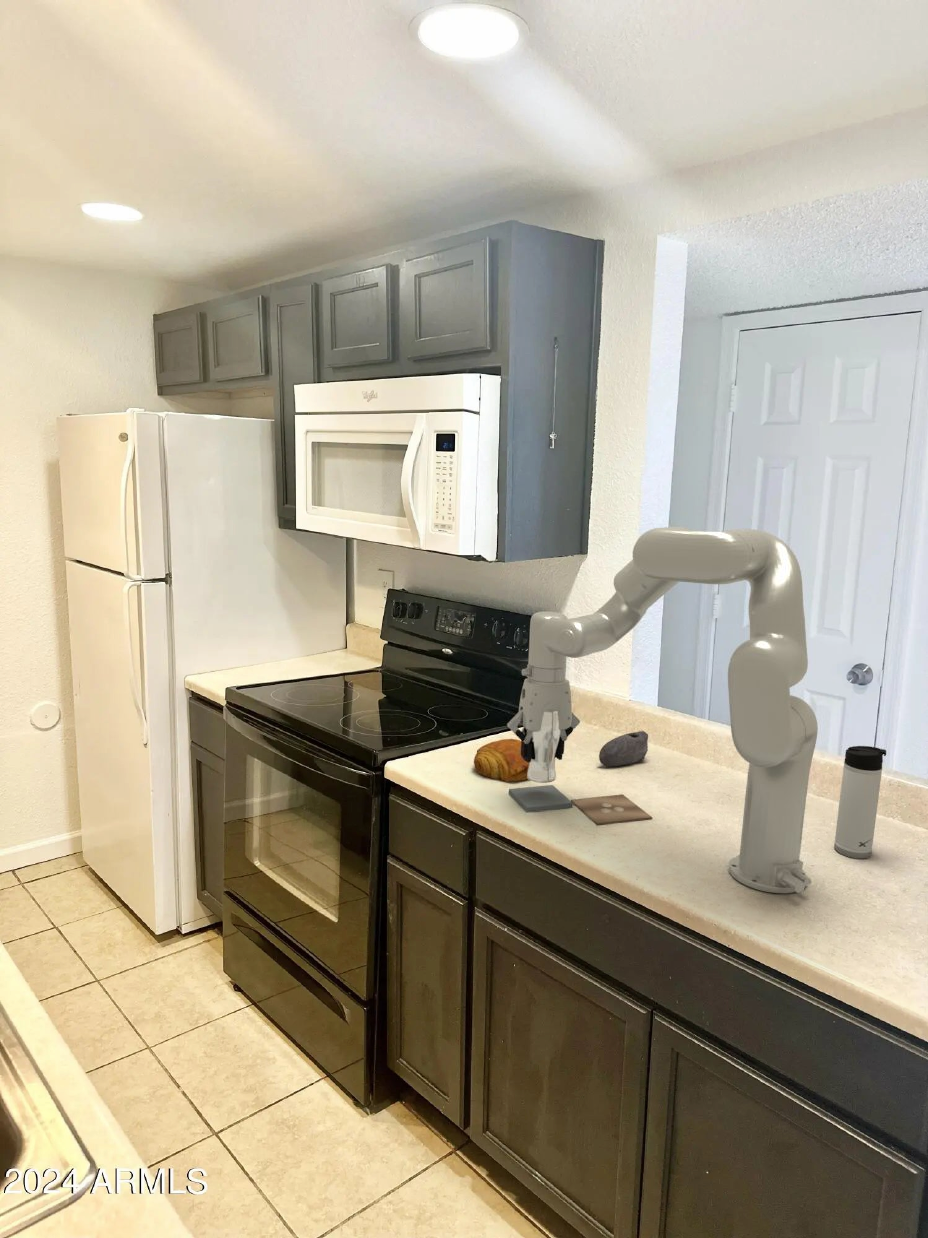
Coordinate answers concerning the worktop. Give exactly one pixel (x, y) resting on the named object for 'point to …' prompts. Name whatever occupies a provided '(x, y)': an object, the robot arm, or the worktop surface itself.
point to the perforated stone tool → (624, 749)
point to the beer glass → (544, 749)
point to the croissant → (501, 761)
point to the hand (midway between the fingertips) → (542, 758)
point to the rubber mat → (540, 798)
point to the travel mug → (858, 801)
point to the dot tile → (610, 809)
